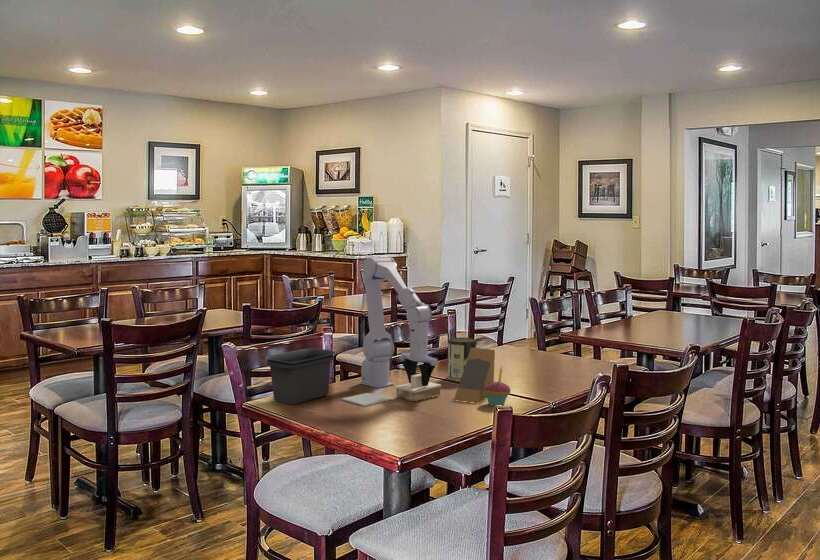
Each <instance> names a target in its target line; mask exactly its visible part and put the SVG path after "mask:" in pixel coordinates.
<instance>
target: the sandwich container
mask: <svg viewBox="0 0 820 560" xmlns="http://www.w3.org/2000/svg"><path fill="white" fill-rule="evenodd" d="M495 355H496V351H495V349H491V348H482V347H481V348H480V347H476V348H472V347H471V349H470V352H469V356H468V359H467V362H466V365H465V368H464V371H463V374H462V377H461V380H460V381H459V384H458V387H457V389H456V393H455V396H454V398H453V400H459V401H467V402H474V403H478V402H480V401H482V400H483V401H485V400H486V399H485V398H487V397H486V395H485V394H483V388H484V386H486V385H487V384H489V383H491V382H495V381H494V380H495V359H496V356H495ZM484 399H485V400H484ZM483 401H482V402H483ZM480 403H481V402H480ZM478 404H479V403H478Z"/></svg>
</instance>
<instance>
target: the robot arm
mask: <svg viewBox="0 0 820 560" xmlns="http://www.w3.org/2000/svg"><path fill="white" fill-rule="evenodd" d="M361 266H362V273H363V274H362V277H363V282H364V289H365V299H366V309H367V319H368V328H369V331H368V333H367V334H365V336H364V337H363V346H362V352H363V353H362V354H363V356H364V359H363V361H362V363H361V367H360V368H361V373H360V374H361V376H360V377H361V381H360V382H359V385H364V386H368V387H372V388H376V389H379V388H384V387H388V386H393V385H395V383H394V382H390V359H391V357H392V356H393V355H394V352H395V345H394V343H393V339H392V335H391V334H390V333H389V332H388V331H387V330H386V327H385V319H384V316H385V315H384V307H383V297H382V288H381V285H382V284H383V283H384V281H387V282H388V283H389V284H390V285H391V286H392V288H393V289H394V290H395V292H396V293H397V300H398V302H399V303H400V304H401V306H402V307H403V310H405V312H406V315H405V316H406V319H407V322H408V323H407V324H408V328H409V353H408V352H402V353H400V360H402V363H401V364H402V366H403V368H404V370H405V373H406V376H407V380H408V383H411V376H412V375H417V374H416V373H417V369H418V368H417V367H419V370H420V374H421V377H422V386H428V383H429V382H430V379H431V376H432V373H433V371H434V369H435V368H436V366H438V358H435V357H432V356H430V355H428V354H429V352H428V351H429V350H428V348H429V345H428V344H429V322H431V320H432V318H433V311H432V309H431V307H430V305H429V304H425V302H422V301H421V300H420V298H419V297H418V295H417V294H416V291H415V290H414V288H411V287H408V286H407V285H406V284H405V282H404V280H403V279H402V276H401V275H400V274H399V272H398V270H397V268H398V264H397V262H396V261H395V259H394V258H393V257H392V256H383V257H382V256H381V257H369V256H368V257H367V258H365V260H364V262H363V263H362V265H361ZM403 360H404V361H403ZM420 363H421V364H420ZM418 364H419V365H418Z"/></svg>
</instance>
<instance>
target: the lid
mask: <svg viewBox="0 0 820 560" xmlns="http://www.w3.org/2000/svg"><path fill="white" fill-rule="evenodd" d="M437 387H440V388H441V387H442V384H440V383H435V382H432V381H429V383H428V386H422V377H421V373H418V374H416V375H412V376H411V383H409V382H408V383H405V384H400V385H397V386H394V388H395V389H396V390H397V389H400V390H405V391H409V392H413V393H416V392H420V391H425V390H429V389H433V388H437Z"/></svg>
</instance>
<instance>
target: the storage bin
mask: <svg viewBox="0 0 820 560" xmlns="http://www.w3.org/2000/svg"><path fill="white" fill-rule="evenodd" d="M335 354H336V351H334V350H330V349H329V350H328V349H323V348H316V347H315V348H314V347H313V348H302V349H297V350H296V349H295V350H291V351H285V352H281V353H277V354H272V355H271V354H270V355H268V356H265V359H266V365H267V366H269V367H270V368H269V369H270V376H271V384H272V385H271V387H272V393H273V400H274V401H275V402H278V403H282V404H286V405H292V406H293V405H296V404H300V403H304V402H306V401H310V400H314V399H317V398H322V397H325V396H328V395H329V391H330V377H331V376H330V375H331V363H332V361H333V360H335V356H334V355H335Z"/></svg>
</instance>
